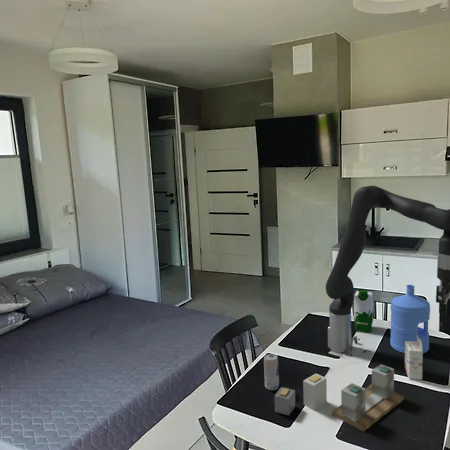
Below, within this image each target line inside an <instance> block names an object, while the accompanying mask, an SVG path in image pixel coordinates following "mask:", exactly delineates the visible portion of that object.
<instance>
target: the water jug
mask: <svg viewBox="0 0 450 450" xmlns="http://www.w3.org/2000/svg"><path fill="white" fill-rule="evenodd" d="M415 287H416V286H415V285H413V284H407V285H406V294H403V295H400V296H396V297H393V298H392V299H391V301H390V339H389V341H390V343H389V344H390V346H391V348H393V349H394V350H395V351H397V352H399V353H403V354H405V341H413V342H417V335H418V337H419V339H420V340H421V342H422V350H423V354H425V353H427V352H428V351H429V350H430V332H429V320H430V314H431V304H430V302H429V301H428V300H427V299H425V298H423V297H420V296H417V295H416V294H415ZM422 323H423V327H421V326H419V324H422ZM419 343H420V341H419Z"/></svg>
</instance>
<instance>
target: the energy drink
mask: <svg viewBox="0 0 450 450" xmlns="http://www.w3.org/2000/svg"><path fill="white" fill-rule="evenodd" d="M263 369H264V370H263V372H264V374H263V375H264V387H265V389H266V390H268V391H276V390H279V389H280V388H279V387H280V378H279V377H280V376H279V375H280V374H279V373H280V372H279V358H278V355H276V354H274V353H267V354H265V355H264V357H263Z"/></svg>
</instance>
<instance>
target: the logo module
mask: <svg viewBox="0 0 450 450" xmlns="http://www.w3.org/2000/svg"><path fill="white" fill-rule="evenodd" d="M327 385H328V384H327V377H325V376H322V375H321V374H318V373H314V374H313V375H310V376H309V377H307V378H306V379H304V380H302V387H303V388H302V389H303V391H302V393H303V405H304V406H306V407H307V408H310V409H311V410H313V411H315V410H316V409H319V408H320V407H321V406H323V405H324V404H325V403H327V402H328V401H327V399H328V398H327V397H328V395H327V393H328V392H327V388H328V387H327Z"/></svg>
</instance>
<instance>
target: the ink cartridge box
mask: <svg viewBox="0 0 450 450" xmlns="http://www.w3.org/2000/svg"><path fill="white" fill-rule="evenodd" d="M419 341H420V343H419ZM423 355H424V353H423V350H422V342H421V340H420V339H419V337H418V335H417V342H413V341H405V353H404V370H405V373H406V375H407V377H408V379H409V380H419V381H421V380H423V358H424V357H423Z"/></svg>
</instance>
